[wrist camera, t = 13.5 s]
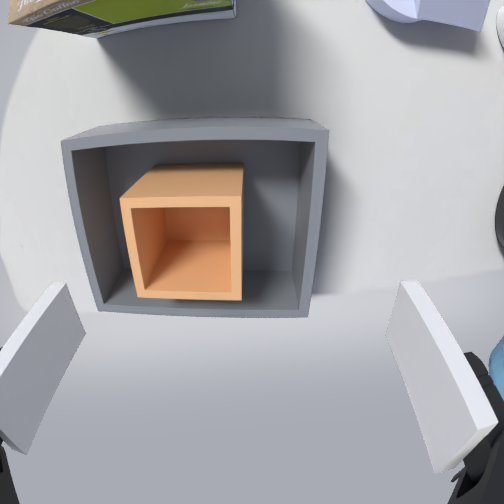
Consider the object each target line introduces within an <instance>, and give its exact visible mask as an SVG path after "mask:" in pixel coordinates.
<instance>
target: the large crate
mask: <svg viewBox="0 0 504 504" xmlns="http://www.w3.org/2000/svg"><path fill="white" fill-rule="evenodd" d="M328 137H329V130H328V129H326V128H324V127H323V126H321V125H319V124H317V123H316V122H314V121H312V120H310V119H294V118H270V117H207V118H183V119H166V120H153V121H141V122H131V123H122V124H114V125H106V126H99V127H96V128H93V129H90V130H87V131H85V132H82V133H79V134H77V135H74V136H72V137H69V138H67V139H64V140H62V141H61V148H62V156H63V163H64V170H65V176H66V182H67V188H68V194H69V199H70V205H71V210H72V215H73V219H74V224H75V228H76V233H77V237H78V241H79V246H80V250H81V254H82V257H83V261H84V265H85V269H86V272H87V276H88V279H89V283H90V286H91V290H92V293H93V296H94V299H95V303H96V306H97V309H98V311H105V312H119V313H134V314H152V315H171V316H196V317H241V318H245V317H247V318H289V317H291V318H293V317H294V318H295V317H308V312H309V306H310V300H311V293H312V286H313V279H314V272H315V264H316V257H317V249H318V241H319V232H320V223H321V214H322V205H323V195H324V185H325V174H326V163H327V150H328ZM185 163H244V246H243V273H242V300H196V299H166V298H142V297H138V296H137V292H136V287H135V283H134V278H133V273H132V268H131V263H130V258H129V253H128V248H127V242H126V237H125V231H124V225H123V219H122V212H121V206H120V199H119V198H120V197H121V196H122V195H123V194H125V193H126V192H127V191H128V190H129V189H130V188H131V187H132V186H133V185H134V184H135V183H136V182H137V181H138V180H139V179H140V178H141V177H142V176H143V175H144V174H146V173H147V172H148V171H149V170H150V169H151V168H152V167H153V166H154V165H159V164H185Z"/></svg>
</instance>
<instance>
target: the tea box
mask: <svg viewBox="0 0 504 504" xmlns="http://www.w3.org/2000/svg"><path fill="white" fill-rule="evenodd" d="M235 17H236V0H10V7H9V17H8V24H14V25H21V26H28V27H38V28H44V29H50V30H56V31H62V32H67V33H72V34H78V35H82V36H86V37H92V38H98V37H102V36H106V35H110V34H115V33H119V32H124V31H129V30H134V29H139V28H145V27H151V26H157V25H164V24H171V23H179V22H188V21H199V20H212V19H227V18H235Z"/></svg>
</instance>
